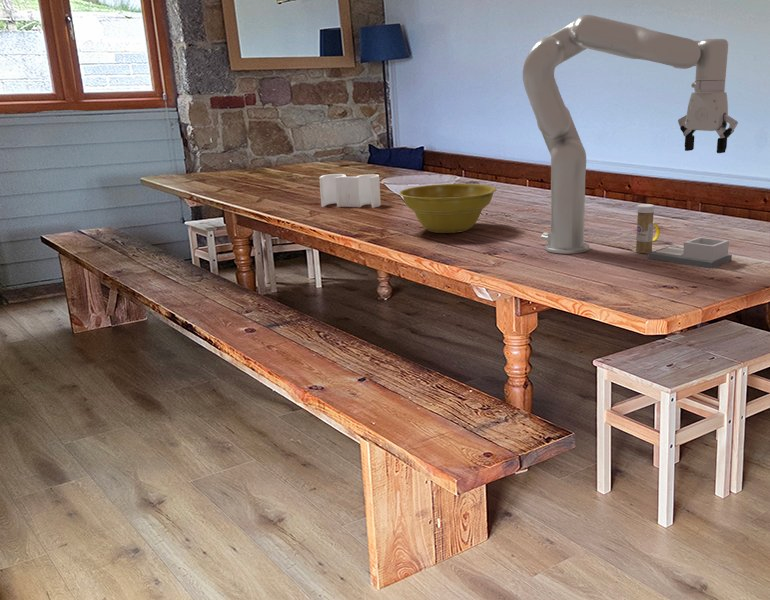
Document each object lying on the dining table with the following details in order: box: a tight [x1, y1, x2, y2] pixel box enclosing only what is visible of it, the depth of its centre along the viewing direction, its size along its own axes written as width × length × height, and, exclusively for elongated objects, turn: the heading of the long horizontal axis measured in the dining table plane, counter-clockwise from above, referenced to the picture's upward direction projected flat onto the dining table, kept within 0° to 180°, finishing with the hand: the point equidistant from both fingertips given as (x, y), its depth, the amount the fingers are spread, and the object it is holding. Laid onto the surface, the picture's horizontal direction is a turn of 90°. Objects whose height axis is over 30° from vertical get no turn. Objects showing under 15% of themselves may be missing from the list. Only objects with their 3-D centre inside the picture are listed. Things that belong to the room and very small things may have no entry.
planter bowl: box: [398, 183, 497, 234], centre depth 272 cm, size 32×32×13 cm
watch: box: [652, 221, 661, 243], centre depth 242 cm, size 6×3×6 cm, turn 110°
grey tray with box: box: [647, 236, 733, 269], centre depth 219 cm, size 18×11×6 cm, turn 42°
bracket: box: [318, 173, 382, 209], centre depth 329 cm, size 25×10×12 cm, turn 67°
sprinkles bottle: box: [635, 203, 655, 254], centre depth 229 cm, size 5×5×13 cm
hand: (704, 151), depth 224 cm, fingers open, 9 cm apart
